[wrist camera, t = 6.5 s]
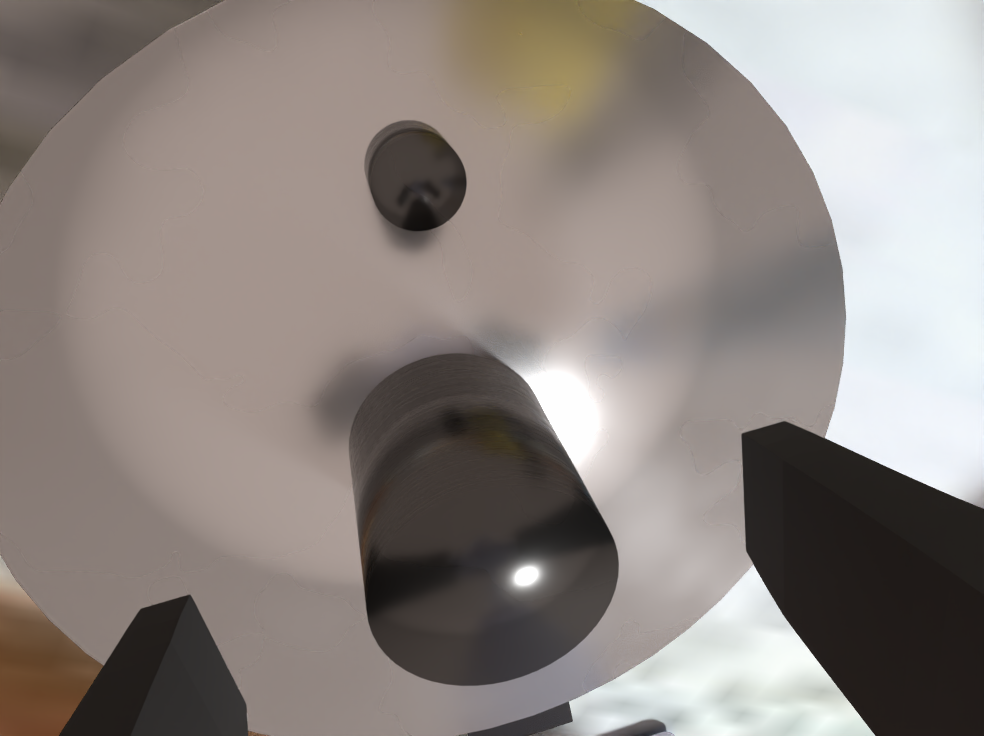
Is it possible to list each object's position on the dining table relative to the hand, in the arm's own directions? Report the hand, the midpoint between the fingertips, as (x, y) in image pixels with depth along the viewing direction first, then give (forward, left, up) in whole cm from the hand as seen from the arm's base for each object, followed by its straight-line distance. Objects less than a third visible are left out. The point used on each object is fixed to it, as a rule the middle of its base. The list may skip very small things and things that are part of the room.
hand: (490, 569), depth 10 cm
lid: (0, 0, -4) cm, 4 cm away
